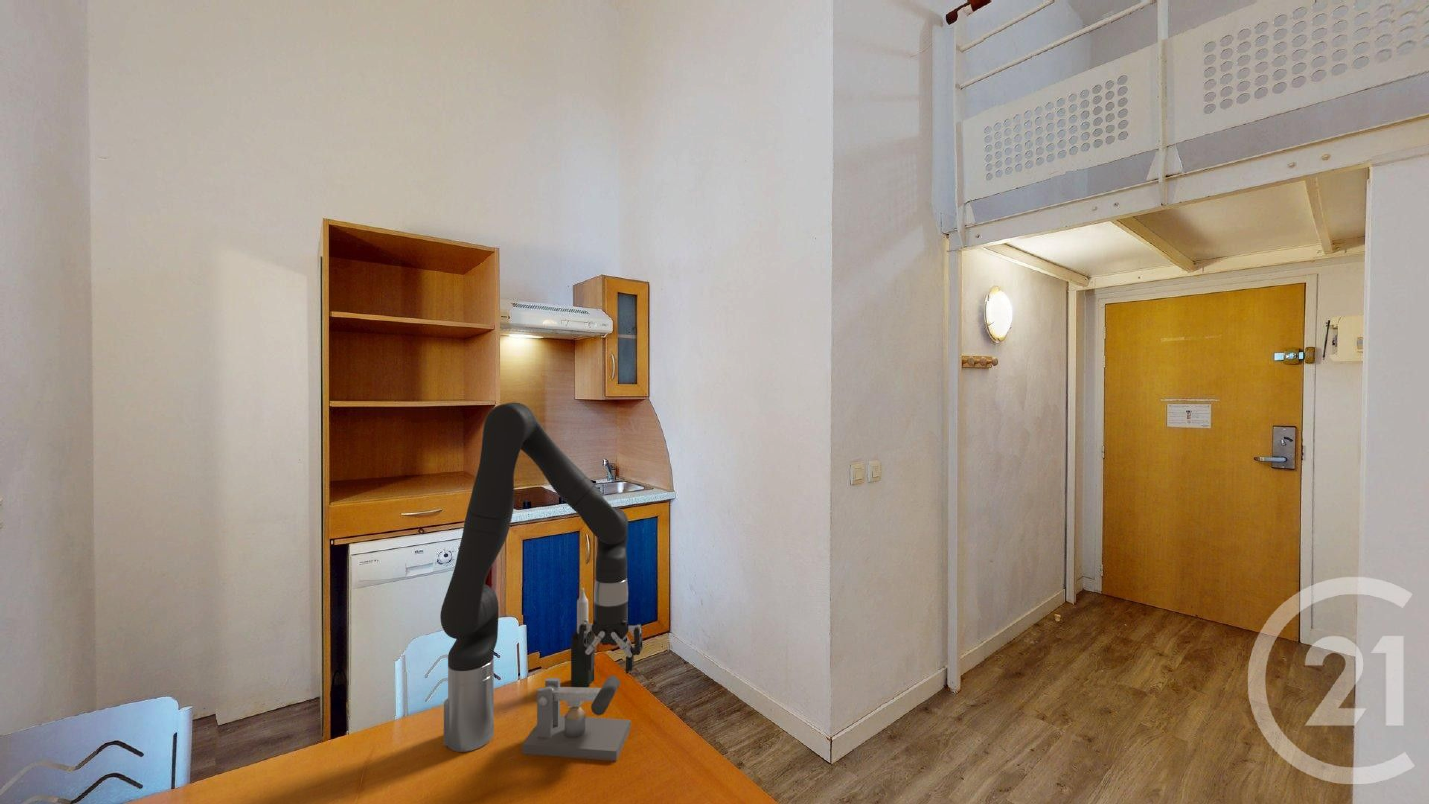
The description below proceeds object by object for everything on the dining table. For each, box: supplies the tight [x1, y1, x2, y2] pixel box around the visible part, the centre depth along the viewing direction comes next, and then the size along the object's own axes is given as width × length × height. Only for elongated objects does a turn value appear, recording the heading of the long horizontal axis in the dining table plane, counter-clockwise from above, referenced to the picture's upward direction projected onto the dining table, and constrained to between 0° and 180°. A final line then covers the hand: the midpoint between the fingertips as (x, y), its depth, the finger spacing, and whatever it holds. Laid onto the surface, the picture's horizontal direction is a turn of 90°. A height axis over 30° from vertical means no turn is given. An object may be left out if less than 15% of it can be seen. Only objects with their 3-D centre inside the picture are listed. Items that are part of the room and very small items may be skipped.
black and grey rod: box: [570, 587, 595, 688], centre depth 143 cm, size 5×5×25 cm
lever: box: [546, 675, 620, 716], centre depth 118 cm, size 16×10×4 cm, turn 84°
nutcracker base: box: [521, 677, 632, 762], centre depth 118 cm, size 20×11×12 cm, turn 84°
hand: (609, 670), depth 121 cm, fingers open, 8 cm apart
